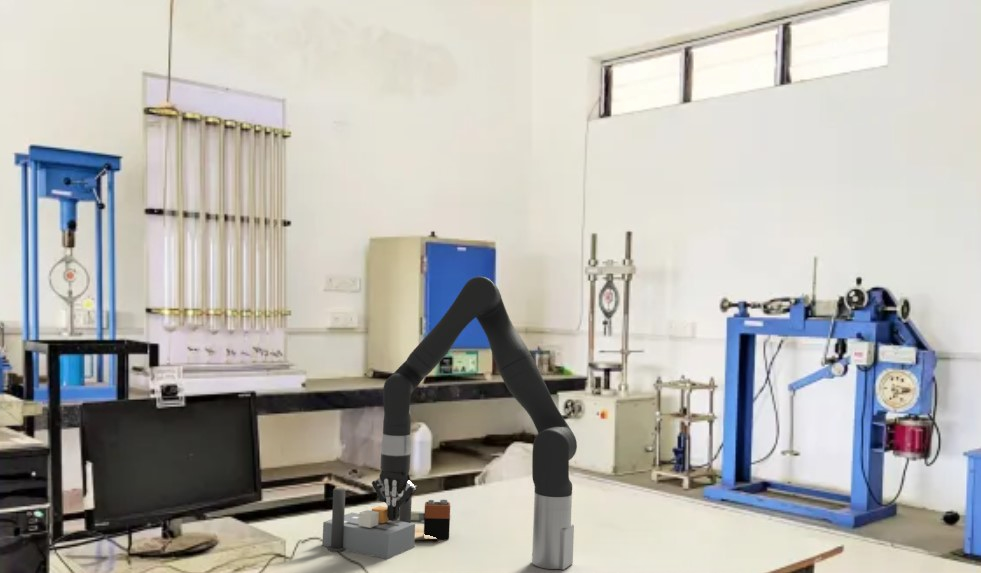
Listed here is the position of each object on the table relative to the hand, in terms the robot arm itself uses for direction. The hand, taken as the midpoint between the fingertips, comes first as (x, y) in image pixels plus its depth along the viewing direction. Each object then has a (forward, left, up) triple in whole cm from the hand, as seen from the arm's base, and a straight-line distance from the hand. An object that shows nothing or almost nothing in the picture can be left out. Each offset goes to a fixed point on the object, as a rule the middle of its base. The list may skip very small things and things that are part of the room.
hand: (393, 520), depth 213 cm
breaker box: (+6, +2, -7) cm, 10 cm away
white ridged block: (+4, +5, -1) cm, 6 cm away
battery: (-4, -15, -7) cm, 17 cm away
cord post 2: (+1, -7, -7) cm, 10 cm away
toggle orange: (+4, 0, -1) cm, 4 cm away
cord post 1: (+11, +8, -7) cm, 16 cm away
